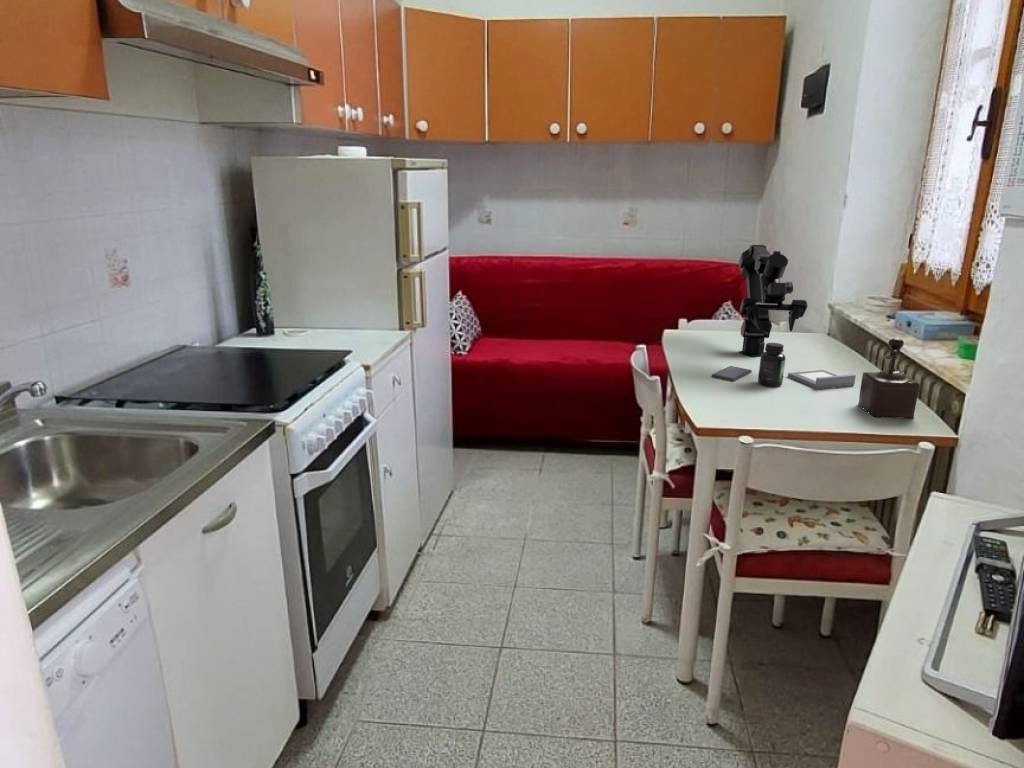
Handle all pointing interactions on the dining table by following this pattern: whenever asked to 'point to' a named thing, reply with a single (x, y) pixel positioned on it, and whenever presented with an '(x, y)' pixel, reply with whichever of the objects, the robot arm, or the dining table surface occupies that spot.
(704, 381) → the dining table surface
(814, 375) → the tray
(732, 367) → the phone
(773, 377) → the supplement bottle
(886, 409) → the pepper mill
